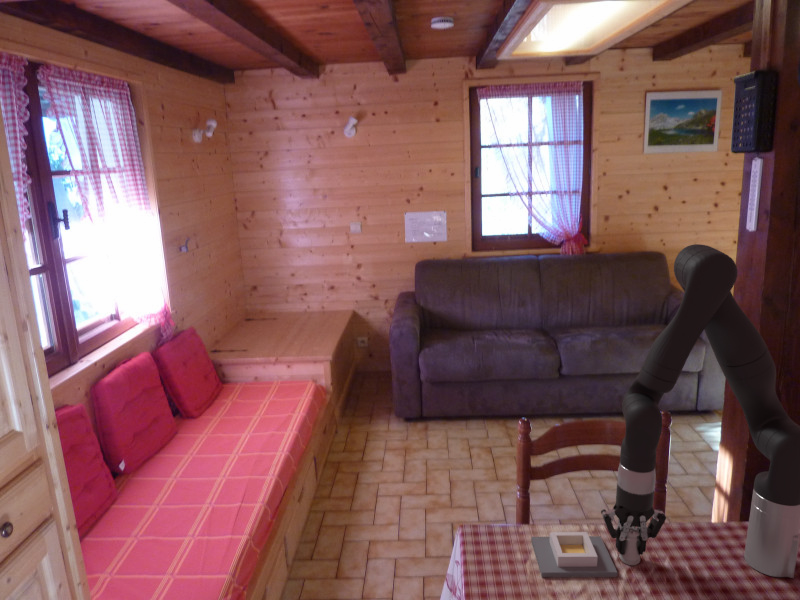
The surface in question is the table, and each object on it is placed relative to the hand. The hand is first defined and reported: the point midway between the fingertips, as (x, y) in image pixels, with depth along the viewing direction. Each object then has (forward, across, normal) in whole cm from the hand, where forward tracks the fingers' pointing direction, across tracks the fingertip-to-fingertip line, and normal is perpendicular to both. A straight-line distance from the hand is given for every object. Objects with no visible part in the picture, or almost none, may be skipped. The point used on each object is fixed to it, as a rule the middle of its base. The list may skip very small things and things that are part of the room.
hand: (630, 551), depth 131 cm
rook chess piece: (+2, 0, 0) cm, 2 cm away
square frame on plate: (+2, -12, 0) cm, 13 cm away
